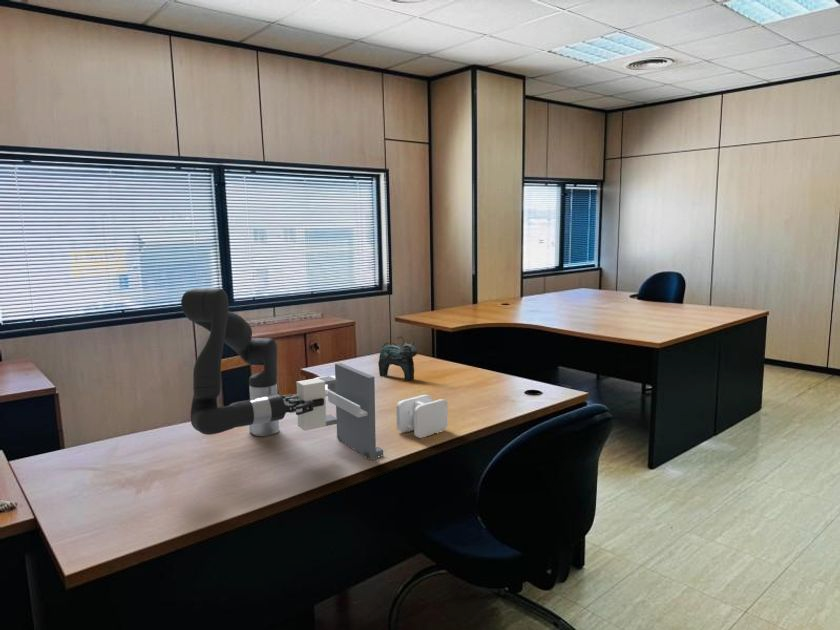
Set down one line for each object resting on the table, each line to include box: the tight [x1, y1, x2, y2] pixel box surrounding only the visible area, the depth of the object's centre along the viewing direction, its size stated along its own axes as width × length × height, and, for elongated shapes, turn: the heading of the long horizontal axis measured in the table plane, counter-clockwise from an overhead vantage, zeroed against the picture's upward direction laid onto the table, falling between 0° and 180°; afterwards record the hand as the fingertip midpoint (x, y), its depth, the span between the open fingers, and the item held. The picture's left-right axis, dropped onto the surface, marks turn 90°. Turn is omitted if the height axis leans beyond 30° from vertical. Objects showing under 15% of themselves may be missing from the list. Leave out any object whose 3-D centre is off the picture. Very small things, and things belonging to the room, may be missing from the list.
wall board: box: [327, 362, 384, 460], centre depth 183 cm, size 22×8×26 cm, turn 35°
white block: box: [296, 375, 338, 432], centre depth 175 cm, size 5×11×14 cm, turn 125°
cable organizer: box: [396, 394, 449, 439], centre depth 198 cm, size 15×11×12 cm
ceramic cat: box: [378, 336, 418, 382], centre depth 268 cm, size 20×6×20 cm, turn 58°
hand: (319, 399), depth 175 cm, fingers closed on white block, 5 cm apart
